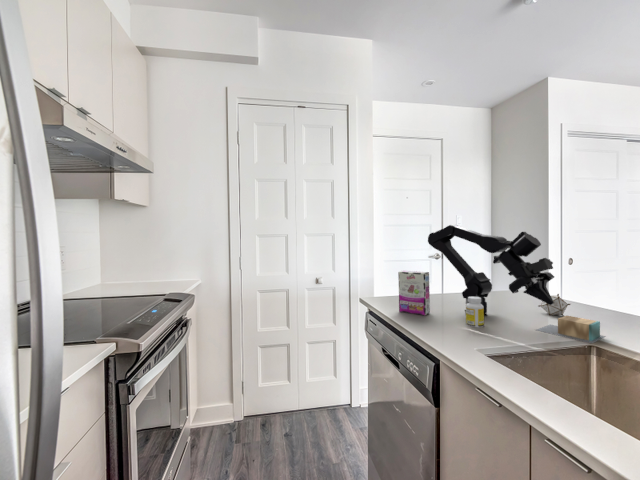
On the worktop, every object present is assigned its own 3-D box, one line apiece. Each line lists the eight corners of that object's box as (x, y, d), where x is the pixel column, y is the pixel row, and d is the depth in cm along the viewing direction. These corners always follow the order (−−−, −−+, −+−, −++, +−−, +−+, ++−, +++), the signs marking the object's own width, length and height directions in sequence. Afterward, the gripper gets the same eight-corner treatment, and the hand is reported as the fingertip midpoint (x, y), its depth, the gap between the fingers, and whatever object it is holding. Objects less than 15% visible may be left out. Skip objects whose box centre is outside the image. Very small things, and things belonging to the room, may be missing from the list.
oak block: (557, 318, 92) (591, 325, 86) (566, 315, 96) (599, 321, 89) (557, 333, 93) (591, 341, 86) (566, 329, 96) (599, 336, 89)
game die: (554, 324, 115) (563, 301, 117) (569, 322, 107) (579, 298, 109) (530, 311, 117) (539, 289, 119) (543, 309, 109) (553, 285, 111)
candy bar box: (430, 313, 120) (430, 271, 120) (425, 316, 116) (425, 273, 116) (403, 309, 127) (403, 270, 127) (398, 311, 124) (397, 271, 123)
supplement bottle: (482, 324, 104) (482, 296, 104) (485, 329, 99) (485, 299, 99) (465, 323, 106) (464, 295, 106) (467, 328, 101) (466, 298, 101)
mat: (535, 331, 96) (535, 329, 96) (550, 326, 101) (550, 324, 101) (592, 345, 84) (592, 343, 84) (605, 338, 89) (605, 336, 89)
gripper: (519, 251, 95) (560, 292, 86) (548, 248, 105) (587, 285, 96) (494, 273, 102) (529, 313, 93) (522, 268, 112) (557, 305, 103)
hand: (552, 303), depth 96 cm, fingers closed
